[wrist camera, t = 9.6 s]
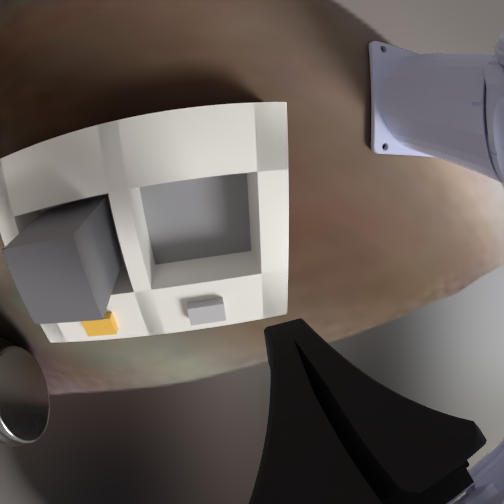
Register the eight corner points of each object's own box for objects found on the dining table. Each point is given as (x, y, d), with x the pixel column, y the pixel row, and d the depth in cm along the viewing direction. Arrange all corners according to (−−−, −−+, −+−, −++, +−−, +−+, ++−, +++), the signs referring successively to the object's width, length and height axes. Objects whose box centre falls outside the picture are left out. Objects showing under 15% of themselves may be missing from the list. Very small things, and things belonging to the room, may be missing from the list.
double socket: (266, 104, 14) (290, 101, 11) (272, 283, 20) (290, 320, 17) (14, 154, 12) (-23, 168, 8) (64, 311, 18) (48, 348, 14)
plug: (110, 191, 14) (73, 235, 9) (125, 255, 16) (103, 319, 11) (53, 204, 13) (1, 250, 8) (70, 263, 15) (35, 324, 10)
